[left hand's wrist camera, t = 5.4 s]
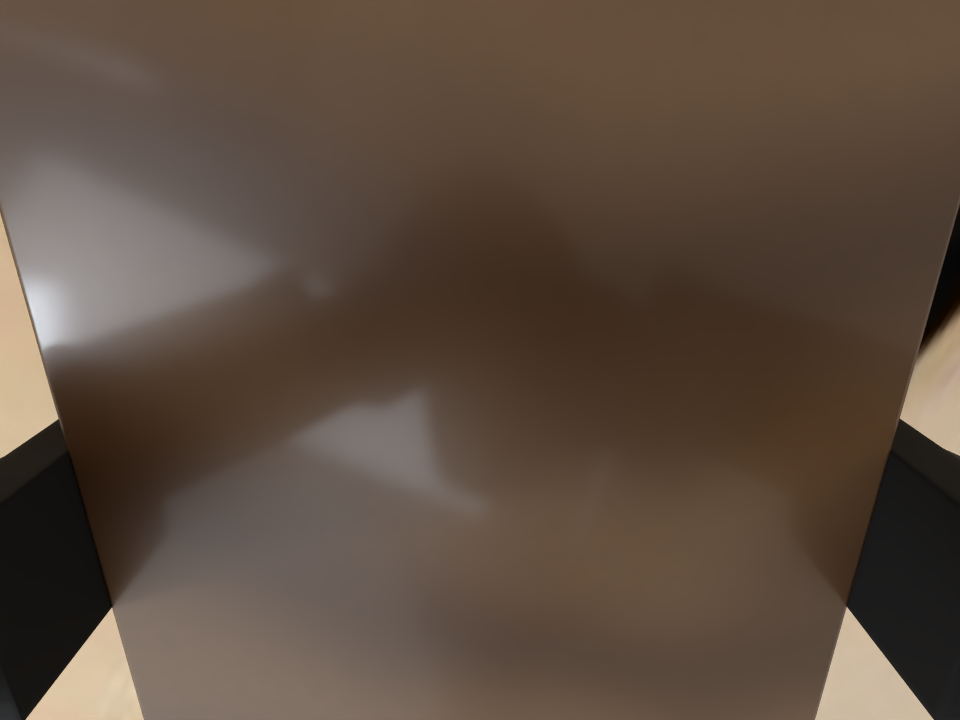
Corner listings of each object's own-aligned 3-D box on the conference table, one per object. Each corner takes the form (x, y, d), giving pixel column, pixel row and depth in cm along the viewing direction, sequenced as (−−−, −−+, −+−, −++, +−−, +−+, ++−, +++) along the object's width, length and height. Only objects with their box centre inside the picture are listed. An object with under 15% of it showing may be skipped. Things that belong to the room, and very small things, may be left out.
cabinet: (212, -324, 13) (-510, -1559, 3) (743, -323, 13) (1460, -1550, 3) (308, 471, 19) (156, 772, 10) (650, 470, 19) (802, 770, 10)
